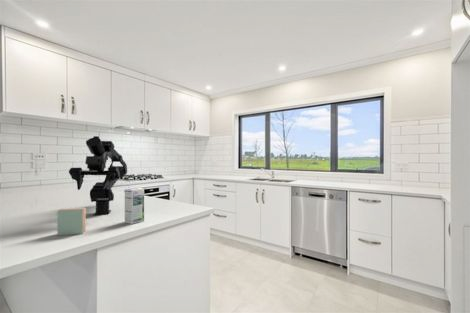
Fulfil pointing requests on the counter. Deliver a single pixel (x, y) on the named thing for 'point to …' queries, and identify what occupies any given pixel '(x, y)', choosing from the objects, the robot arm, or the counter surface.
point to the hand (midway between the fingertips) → (91, 188)
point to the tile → (71, 221)
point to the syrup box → (134, 205)
